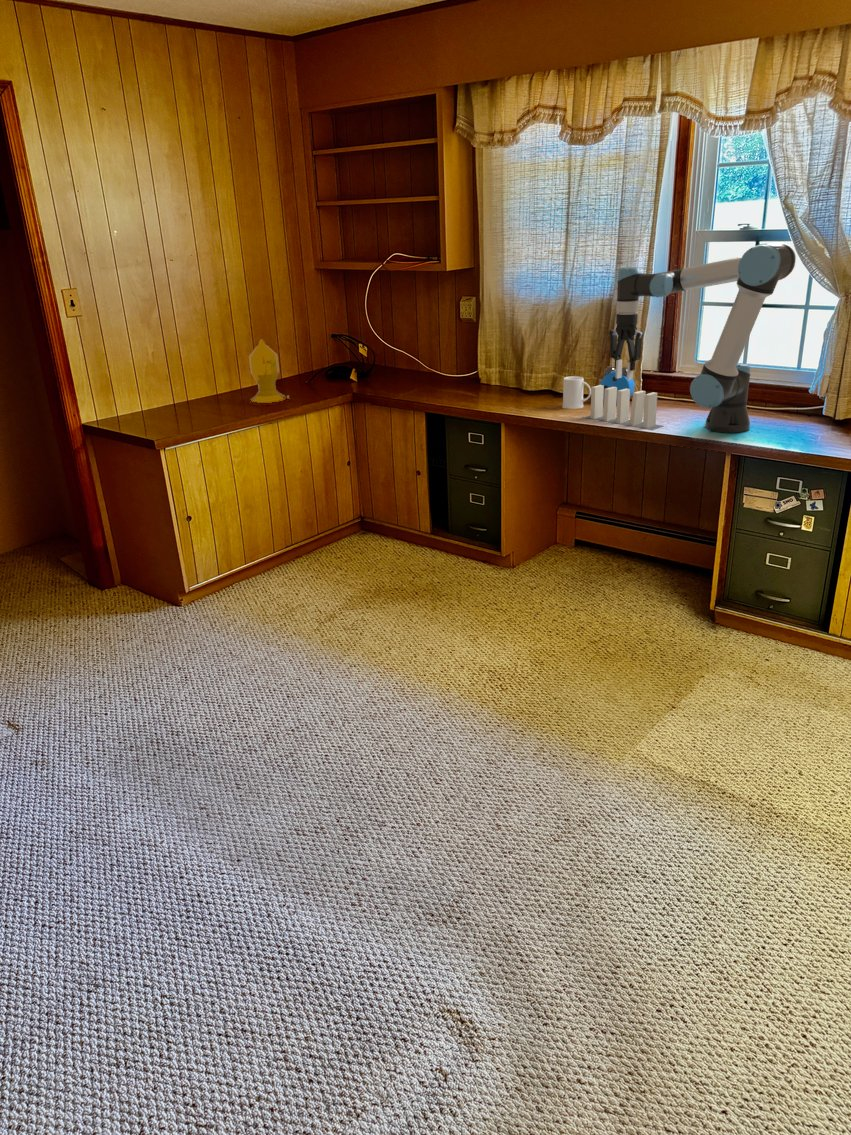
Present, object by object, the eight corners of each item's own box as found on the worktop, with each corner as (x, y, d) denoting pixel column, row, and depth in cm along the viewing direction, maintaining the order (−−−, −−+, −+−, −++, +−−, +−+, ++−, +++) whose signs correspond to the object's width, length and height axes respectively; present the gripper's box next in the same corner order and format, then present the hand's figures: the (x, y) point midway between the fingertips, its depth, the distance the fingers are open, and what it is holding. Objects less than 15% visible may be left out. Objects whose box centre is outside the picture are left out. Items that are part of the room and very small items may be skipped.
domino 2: (615, 418, 321) (617, 387, 316) (606, 421, 318) (608, 389, 313) (611, 417, 322) (613, 386, 318) (603, 420, 319) (604, 388, 314)
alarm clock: (634, 403, 346) (636, 366, 340) (628, 406, 341) (630, 369, 335) (604, 400, 353) (606, 364, 347) (598, 403, 348) (599, 367, 343)
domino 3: (628, 420, 317) (630, 389, 312) (620, 423, 314) (621, 391, 309) (624, 420, 318) (626, 388, 314) (616, 422, 315) (617, 390, 310)
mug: (594, 407, 343) (595, 377, 338) (584, 411, 337) (585, 381, 332) (568, 404, 350) (569, 375, 345) (558, 408, 343) (559, 379, 339)
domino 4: (641, 423, 313) (645, 391, 307) (633, 425, 310) (637, 393, 304) (637, 422, 314) (641, 390, 309) (629, 424, 311) (633, 392, 305)
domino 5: (655, 425, 309) (657, 392, 304) (647, 428, 305) (649, 395, 301) (651, 424, 310) (653, 392, 305) (642, 427, 307) (644, 394, 302)
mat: (664, 427, 307) (664, 425, 307) (652, 431, 303) (652, 430, 302) (594, 415, 330) (594, 414, 330) (581, 418, 325) (581, 417, 325)
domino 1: (602, 416, 325) (603, 385, 321) (594, 418, 322) (595, 387, 318) (598, 415, 327) (599, 384, 322) (590, 418, 324) (591, 387, 319)
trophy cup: (289, 395, 396) (283, 334, 385) (289, 406, 374) (281, 341, 363) (252, 398, 394) (244, 337, 383) (249, 409, 372) (240, 344, 361)
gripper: (653, 313, 297) (650, 379, 306) (613, 310, 309) (611, 374, 318) (641, 315, 292) (637, 382, 301) (601, 313, 304) (598, 377, 314)
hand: (624, 378), depth 310 cm, fingers open, 4 cm apart
